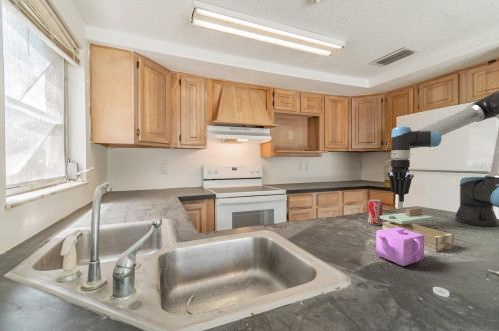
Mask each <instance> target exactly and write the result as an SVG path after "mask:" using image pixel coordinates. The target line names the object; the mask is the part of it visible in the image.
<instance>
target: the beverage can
mask: <svg viewBox="0 0 499 331" xmlns="http://www.w3.org/2000/svg"><path fill="white" fill-rule="evenodd" d="M382 215H383V203H382V201H381V199H374V198H373V199H368V202H367V223H368V224H370V225H372V226H381V225H383V219H380V216H382Z"/></svg>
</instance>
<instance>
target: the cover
mask: <svg viewBox="0 0 499 331" xmlns="http://www.w3.org/2000/svg"><path fill="white" fill-rule="evenodd" d="M422 213H423V211H422V208H421V207H414V208H406V209H405V212H400V213H393V214H382V216H380V219H382V220H385V221H387V222H390V221H391V222H395V223H399V224H407V223H411V224H415V223H420V222H427V221H432V220H434V216H430V215H425V214H422Z"/></svg>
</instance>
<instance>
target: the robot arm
mask: <svg viewBox="0 0 499 331" xmlns="http://www.w3.org/2000/svg"><path fill="white" fill-rule="evenodd" d="M491 118H492V119H493V118H496V119H498V120H499V90H497V91H495V92H493V93H490V94H488V95H487V96H484V97H483V98H481V99H478V100H477V101H475V102H473V103H471V104H468V105H467V106H466V108H465V109H463V110H460V111H458V112H456V113H454V114H451V115H448V116H447V117H444V118H441V119H439V120H437V121H435V122H433V123H431V124H429V125H427V126H424V127H422V128H419V129H418V130H416V131H415V130H412V129H411V127H409V126H396V127H393V128H392V130H391V134H390V135H391V136H390V141H391V145H390V146H391V151H390V159H391V160H390V167H391V172H388V173H386V174H387V177H388V182H389V186H390V192H391V193H393V194H394V201H395V205H394V206H395V207H394V208H395V209H403V208H404V202H405V195H409V192H410V188H411V184H412V180H413V178H414V176H415V174H412V173H410V170H409V168H410V166H411V162H410V161H411V160H410V158H411V149H417V148H436V147H438V146H439V145H441V142H442V136H444V135H447V134H450V133H451V132H453V131H456V130H458V129H461V128H463V127H466V126H468V125H470V124H473V123H477V122H478V123H480V122H483V121H485V120H488V119H491ZM496 133H497V135H496V140H495V144H494V152H493V156H492V157H493V158H492V162H491V167H490V172H489V173H487V174H485V175H484V176H471V177H470V176H468V177H467V176H466V177H462V178H461V179H460V181H459V182H460V183H459V207H458V209H457V210H456V213H455V216H454V220H455V221H457V222H459V223H462V224H466V225H471V226H480V227H489V228H491V227H492V228H493V227H499V220H498V218H497V216H496V213H495V211H494V207H496V208H499V126H498V128H497V132H496Z"/></svg>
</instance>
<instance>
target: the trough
mask: <svg viewBox="0 0 499 331" xmlns="http://www.w3.org/2000/svg"><path fill="white" fill-rule="evenodd" d="M391 228H403V229H404V230H407V231H411V232H414V233H418V234H422V235H424V250H428V251H430V252H433V253H438V252H442V251H447V250H451V249H452V250H453V249H454V246H455V245H454V242H455V241H454V240H455V239H454V238H455V236H454V233H450V232H446V231H442V230H439V229H434V228H431V227H427V226H422V225H419V224H415V223H407V224H399V223H395V222H391V221H385V222H384V221H382V226H381V230H386V229H391Z"/></svg>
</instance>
